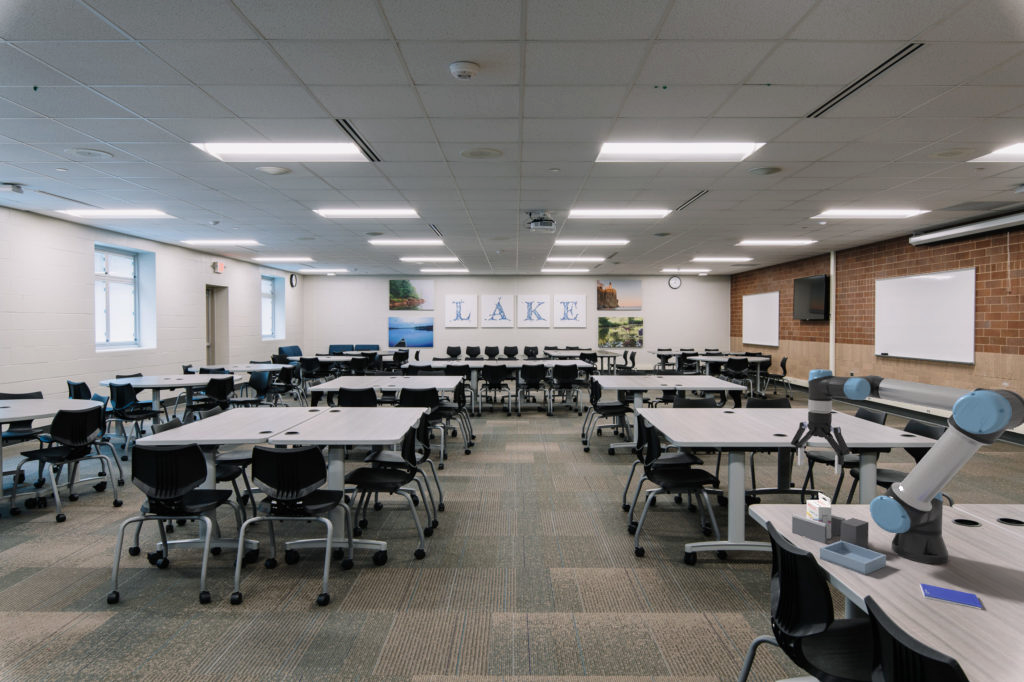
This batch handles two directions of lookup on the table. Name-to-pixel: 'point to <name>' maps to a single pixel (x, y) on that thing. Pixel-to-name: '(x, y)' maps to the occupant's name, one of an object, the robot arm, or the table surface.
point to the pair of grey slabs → (815, 527)
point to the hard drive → (949, 596)
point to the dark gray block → (855, 532)
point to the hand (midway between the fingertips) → (818, 469)
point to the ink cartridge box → (820, 511)
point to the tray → (853, 557)
